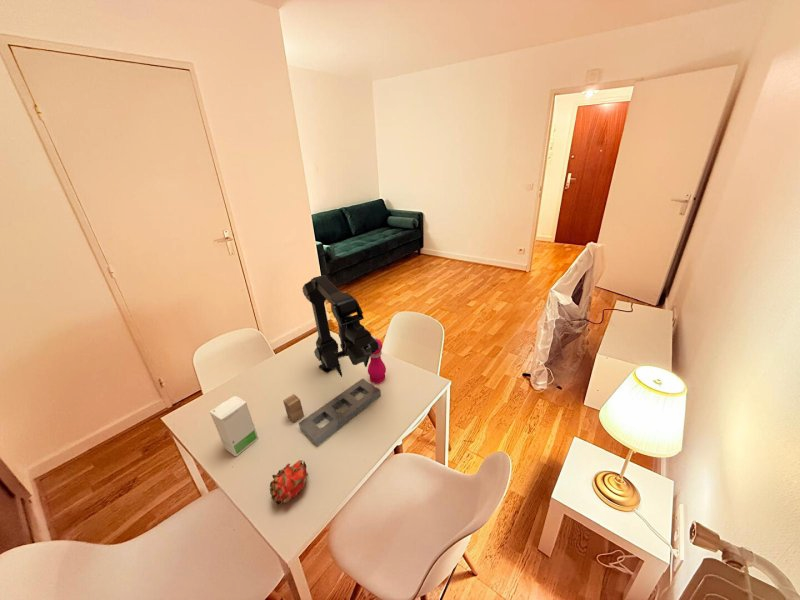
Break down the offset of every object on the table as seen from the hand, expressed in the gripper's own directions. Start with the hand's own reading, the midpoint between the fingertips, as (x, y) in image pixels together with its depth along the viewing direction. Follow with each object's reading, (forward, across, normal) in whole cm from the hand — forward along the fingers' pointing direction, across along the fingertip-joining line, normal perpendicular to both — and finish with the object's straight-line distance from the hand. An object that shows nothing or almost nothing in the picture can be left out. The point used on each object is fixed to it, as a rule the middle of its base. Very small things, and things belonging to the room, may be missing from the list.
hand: (353, 371), depth 104 cm
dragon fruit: (+14, -29, -20) cm, 37 cm away
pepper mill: (+14, +12, +6) cm, 19 cm away
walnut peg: (+14, -21, +5) cm, 26 cm away
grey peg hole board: (+14, -7, -2) cm, 15 cm away
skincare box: (+14, -39, +4) cm, 41 cm away
